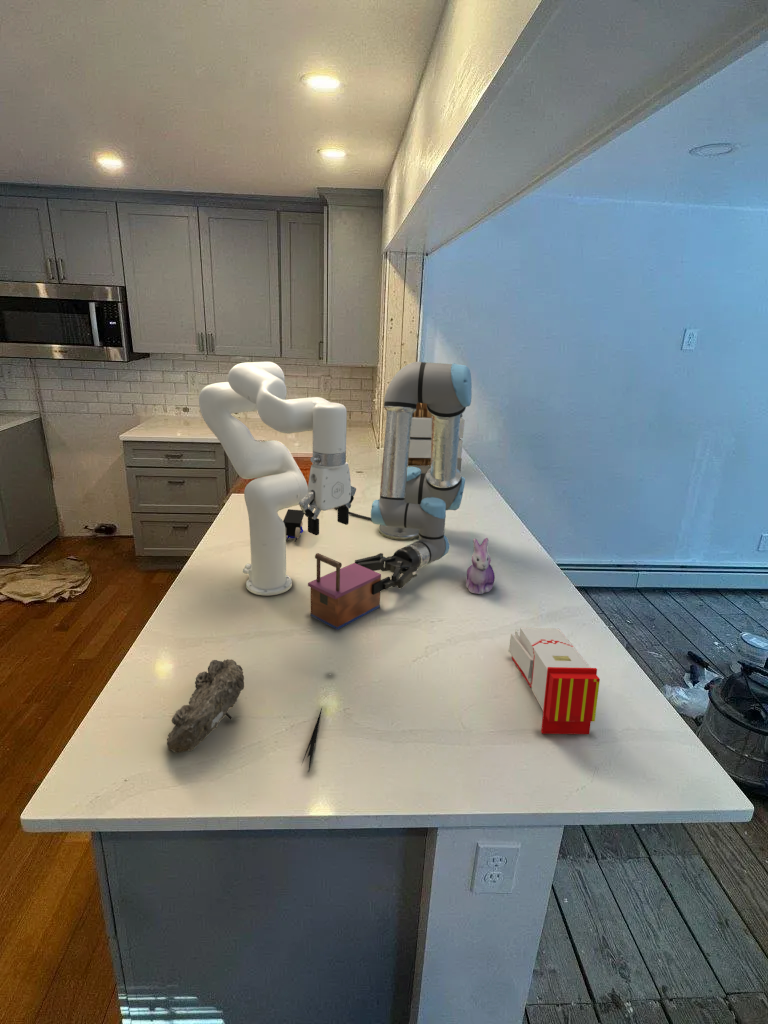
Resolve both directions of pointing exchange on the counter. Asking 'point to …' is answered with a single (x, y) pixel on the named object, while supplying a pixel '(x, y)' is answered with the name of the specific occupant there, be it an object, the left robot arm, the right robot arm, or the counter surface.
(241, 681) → the fossil
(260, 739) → the counter surface
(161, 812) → the counter surface
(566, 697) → the toy
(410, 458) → the transformer
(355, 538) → the counter surface
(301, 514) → the figurine character
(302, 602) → the counter surface
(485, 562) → the figurine
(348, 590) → the lid
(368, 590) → the chest
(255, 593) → the left robot arm
